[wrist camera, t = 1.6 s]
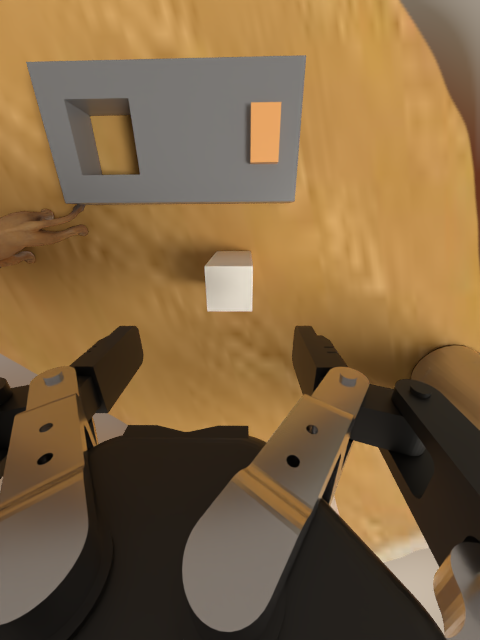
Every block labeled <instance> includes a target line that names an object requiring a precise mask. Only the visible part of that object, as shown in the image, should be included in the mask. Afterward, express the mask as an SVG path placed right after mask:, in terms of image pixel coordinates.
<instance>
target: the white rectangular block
mask: <svg viewBox="0 0 480 640" xmlns="http://www.w3.org/2000/svg"><path fill="white" fill-rule="evenodd" d="M204 268H205V283H206V297H207V311H252V290H253V264H252V256H251V251H216V253H215V254H214V255H213V256H212V258H211V259H210V260H209V261H208V262H207V264H206V265H205V266H204Z"/></svg>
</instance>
